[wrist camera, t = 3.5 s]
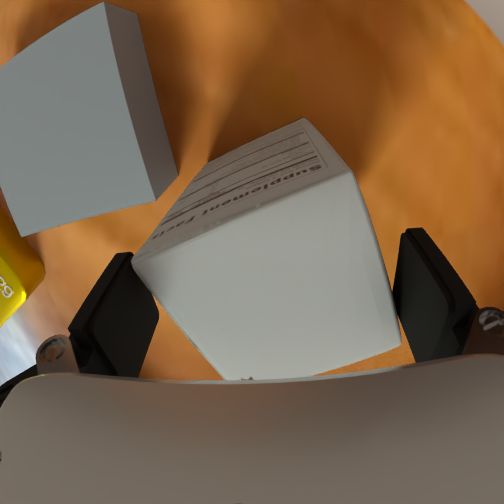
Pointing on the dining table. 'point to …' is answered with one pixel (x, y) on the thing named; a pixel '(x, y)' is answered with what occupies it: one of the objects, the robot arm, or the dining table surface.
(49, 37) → the grey block
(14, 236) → the element tile
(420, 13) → the dining table surface
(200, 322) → the supplement box
